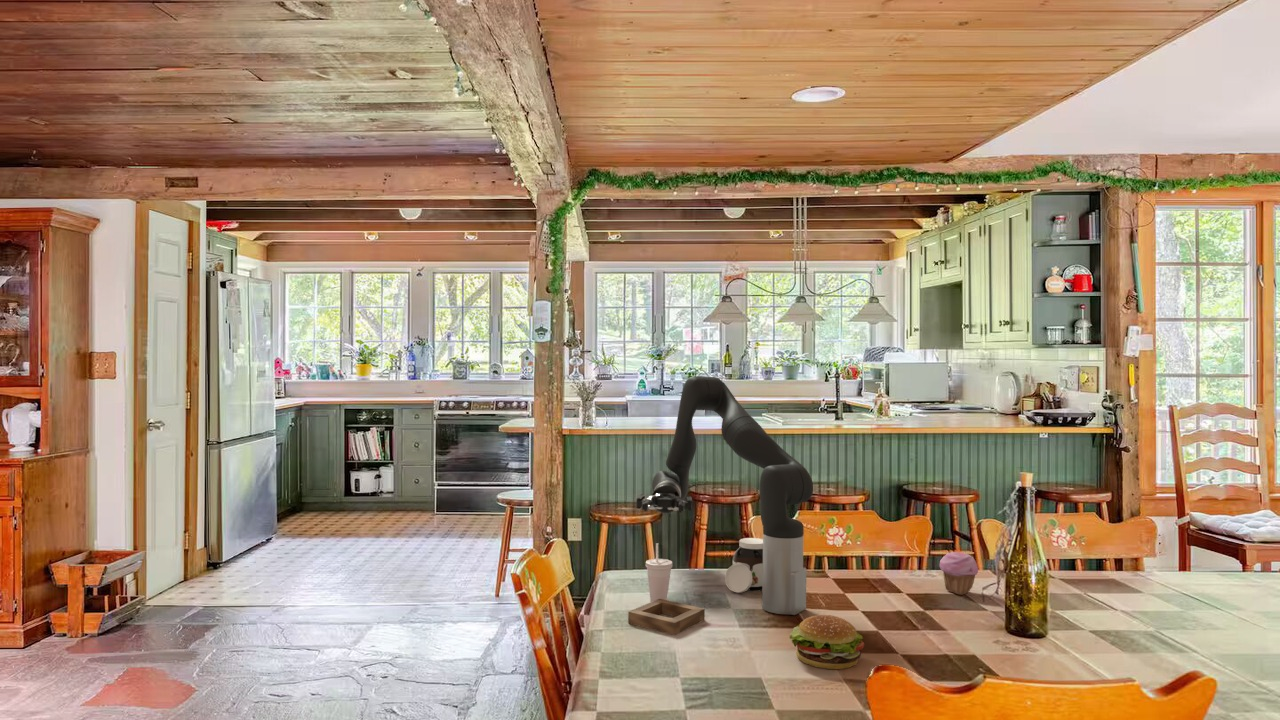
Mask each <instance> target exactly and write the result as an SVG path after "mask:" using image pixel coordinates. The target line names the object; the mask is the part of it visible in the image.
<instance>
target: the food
mask: <svg viewBox="0 0 1280 720" xmlns="http://www.w3.org/2000/svg"><path fill="white" fill-rule="evenodd" d="M789 639H790V640H791V643H792V644H793V646H794V647H795V648H796V647H797V648H796V651H795V654H796V657H797V659H799V660H800V661H801V662H803V663H804V664H807V665H809V666H812V667H815V668H820V669H828V670H843V669H849V668H852V667H854V666H855V665H857V664H858V662H859V659H860V658H861V657H862V650H863V648H865V643H864V641H863V639H864V636H863V635H861V634H859V632H857V629H856V628H855V626H854V625H853V624H852V623H851V622H849V621H847V620H846V619H845V618H842V617H839V616H835V615H826V614H819V615H818V614H816V615H812V616H809V617H808V616H807V617H806V618H804V620H802V621H801V622H800V623H799V624H797V626H794V627H793V628H792V630H791V632H790V634H789Z"/></svg>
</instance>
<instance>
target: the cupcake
mask: <svg viewBox="0 0 1280 720" xmlns="http://www.w3.org/2000/svg"><path fill="white" fill-rule="evenodd" d="M978 567H979V566H978V564H977V561H976V560H975V558H974V557H973V556H971V555H970V554H968V553H964V552H958V551H957V552H948V553H946V554H945V555H943V557H942V558H941V559H940V561H939V568H940V570H941V572H943V580H944V581H943V582H944V587H945V590H947V591H948V592H949V593H950V592H951V593H954V594H956V595H959V596H962V595H965V594H968V593H969V592H970V590H971V589H972V588H973V586H974V582H975V578H976V575H978V573H979V568H978Z"/></svg>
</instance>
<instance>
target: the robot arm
mask: <svg viewBox="0 0 1280 720" xmlns="http://www.w3.org/2000/svg"><path fill="white" fill-rule="evenodd" d="M696 411H711V412H714V413H716V414H718V416H719V417H720V418H721V419H722V420H721V421H722V423H721V436H722V438H723V440H724V441H725V443H726V444H727V445H728V447H730V448H731V450H732V451H733V453H735V454H736V455H737V456H738V457H740V458H741V459H743V460H744V461H747V462H749V463H751V464H752V465H755V466H757V467H760V468H761V469H762V472H761V475H760V477H759V503H760V505H759V506H760V510H759V511H760V520H761V524H762V539H763V572H762V590H761V592H762V593H761V608H762V610H764V611H766V612H769V613H773V614H777V615H792V616H796V615H798V614H799V613H801V612H803V611H805V610H806V609H807V568H806V567H804V536H805V535H804V532H805V531H804V523H803V522H801V520H798V519H795V518H791V517H790V516H788V512H787V506H789V505H791V506H792V505H800V504H803V503H805V502H807V501H809V500H810V499H811V497H812V495H813V493H814V483H813V480H812V477H811V475H810V472H808V470H807V469H806V467H804V465H803V464H801V463H800V462H799V461H798V460H797V459H795V458H794V457H793V456H791V455H790V454H789V453H788V452H786V450H784V449H783V448H782V447H781V446H780V445H779V444H778V443H777V441H775V440H774V439H773V438H772V437H771V436H770V435H769V434H768V433H767V432H766V431H765V430H764V428H763V427H762V426H761V425H760V424H759V423H758V422H757V421H756V420H755V419H754V417H752V416H751V414H750V413H748V412H747V411H746V410H745V408H744V407H743V406H742V405H741V404H740V402H739V401H738V400H737V399H736V397H735V396H734V394H733V393H732V392H731V391H730V389H729V387H728V386H727V384H725V382H724V381H723V380H721V379H720V378H718V377H716V376H702V375H701V376H699V375H697V376H689V377H688V378H687V379H686V381H685V383H684V385H683V388H682V391H681V395H680V402H679V407H678V413H677V419H676V426H675V431H674V436H673V438H672V439H673V440H672V442H671V445H670V449H669V450H668V454H667V456H666V462H665V465H666V468H668V469H669V471H666V470H659V471H657V472H656V474H655V475H654V476H653V479H652V480H651V481H652V483H651V489H652V493H651V495H649V496H648V497H646V495H644V494H639V495H638V496H637V497H636V499H635V501H636V506H635V507H636V509H641V510H642V511H643V512H648V510H653V511H654V510H656V511H657V512H660V513H662V514H670V513H672V512H674V511H675V512H677V511H678V513H679V514H681V513H682V512H685V509H686V510H687V511H689V512H690V511H692V510H693V498H692V496H691V495H689V496H687V495H688V492H689V484H690V483H689V476H690V475H689V474H690V469H691V466H692V464H693V459H694V457H695V455H696V451H697V438H696V435H695V431H694V427H693V418H694V415H695V413H696ZM670 471H671V472H670Z"/></svg>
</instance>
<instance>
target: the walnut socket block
mask: <svg viewBox="0 0 1280 720" xmlns="http://www.w3.org/2000/svg"><path fill="white" fill-rule="evenodd" d="M705 610H706V609H705V608H703V607H699V606H694V605H689V604H685V603H680V602H677V601H672V600H668V599H667V600H663V599H658V600H655V601H653V602H651V601H650V602H648V603H646V604H643V605H641V606H638V607H636V608H634V609H632V610H630V611H628V614H627V615H628V617H627V619H628V621H627V623H628V624H631V625H634V626H638V627H641V628H646V629H648V630H649V629H650V630H654V631H658V632H661V633H666V634H669V635H673V636H675V635H678V634H679V633H682V632H683V631H686V630H687V629H689V628H691V627H694V626H695V625H698V624H699V623H702V622H704V621H705V617H706V616H705V614H706V613H705ZM661 614H663V615H661ZM664 615H667V616H664ZM668 616H670V617H668ZM671 616H672V617H671Z"/></svg>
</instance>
